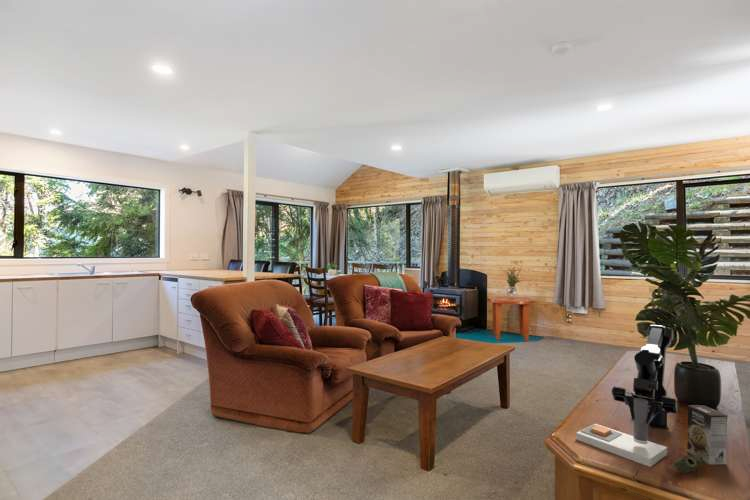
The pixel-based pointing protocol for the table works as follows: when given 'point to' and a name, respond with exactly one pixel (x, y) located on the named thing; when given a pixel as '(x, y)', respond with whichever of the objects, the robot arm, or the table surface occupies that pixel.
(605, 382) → the table surface
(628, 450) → the panel
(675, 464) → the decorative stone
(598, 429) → the button
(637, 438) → the grey cylinder
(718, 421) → the coffee box
